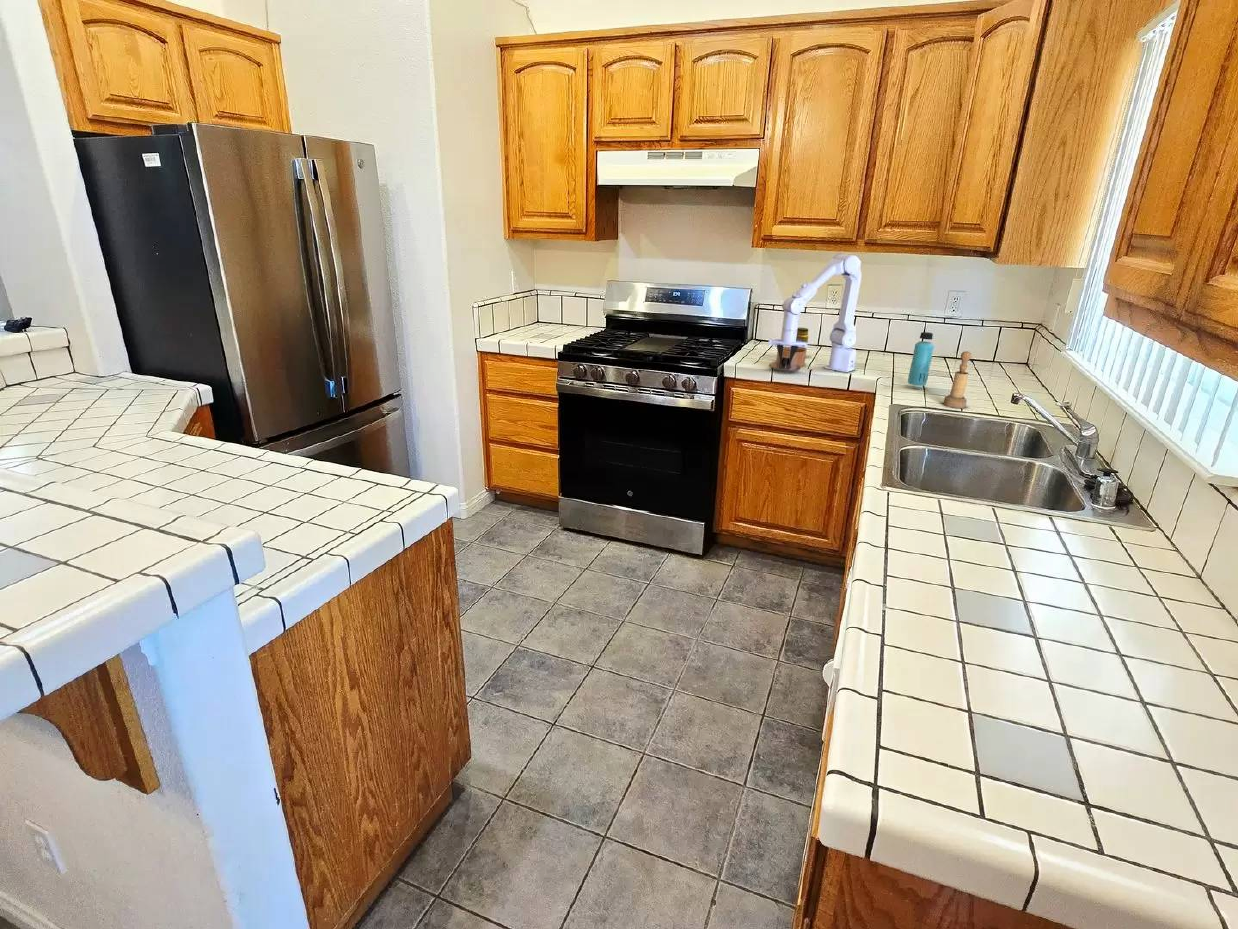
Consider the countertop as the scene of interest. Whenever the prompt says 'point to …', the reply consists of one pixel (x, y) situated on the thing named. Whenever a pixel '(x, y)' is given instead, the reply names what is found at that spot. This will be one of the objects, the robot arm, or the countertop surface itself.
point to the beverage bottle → (921, 360)
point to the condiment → (802, 336)
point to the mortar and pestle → (959, 385)
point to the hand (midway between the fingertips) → (785, 364)
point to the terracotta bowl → (797, 358)
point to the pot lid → (784, 365)
